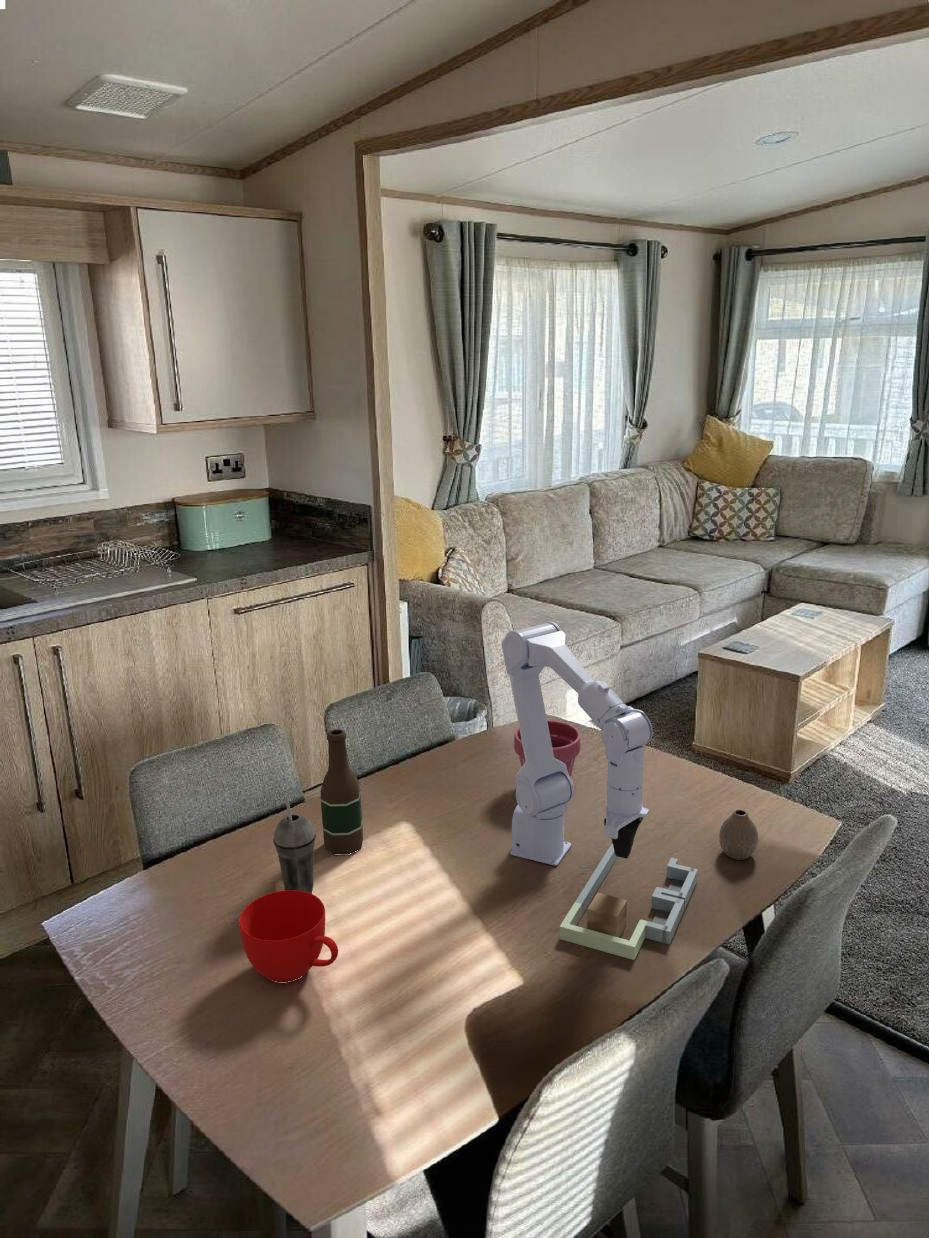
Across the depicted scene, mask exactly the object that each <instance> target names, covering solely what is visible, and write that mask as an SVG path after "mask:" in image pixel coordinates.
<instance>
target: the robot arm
mask: <svg viewBox="0 0 929 1238" xmlns="http://www.w3.org/2000/svg"><path fill="white" fill-rule="evenodd" d="M501 650H502V653H503V654H502V655H503V659H504V660H503V661H504V664H505V670H506V674H507V675H508V676H509V677H508V678H509V682H510V686H511V692H512V697H513V702H514V708H515V713H516V718H517V723H518V727H519V729H520V734H521V740H522V745H523V750H524V755H525V760H526V761H525V763H524V765H523V766H522V767H521V768H520V769H519V770H518V772H517V773H516V774H515V782H516V789H515V799H516V802H517V805H516V806H515V809H514V811H513V814H512V819H511V850H510V853H509V854H510V855H511V856H515V857H519V858H522V859H526V860H531V861H535V862H539V863H543V864H545V865H546V864H547V865H552V866H555V867H556V866H558V865H559V864H560V863H561V861H562V860H563V858H564V856H565V855H566V854H567V853H568V852H569V850H570V848H571V847H572V843H571V842H568V841H565V810H567V809H568V803H569V802H571V801H572V800H573V798H574V796H575V787H574V783H573V780H572V778H571V777H570V776H569V774H568V772H567V767H566V764H564V763H563V762H561V761H559V760H557V759H555V758H554V754H553V749H552V744H551V738H550V733H549V728H548V722H547V720H548V718H547V712H546V709H545V708H546V707H545V704H544V703H545V702H544V697H543V692H542V687H541V681H540V677H539V676H540V674H541V672H542V671H543V669H544V668H550V669H551V670H552V671H553V672H555V674H557V675H558V677H560V678H561V679H562V680H563V681H564V682H565V683H566V684H567V685H568V686H569V687H570V688H572V690H574V691H575V693H577V704H578V705H579V706H580V708H581V709H582V710H583V711H584V712H585V713H586V714H587V716H588V717H589V718H590V719H591V720H592V722H594V724H595V725H596V726H597V727H598V728H599V729H600V738H601V740H602V741H601V742H602V743H603V745H604V748H605V751H604V752H605V753H604V756H605V757H606V759H607V783H606V785H607V787H606V788H607V789H606V791H607V792H606V803H605V818H604V820H603V825H604V837H605V838H610V840H611V844H613V847H614V852H615V855H616V856H617V858H622V859H628V858H629V857H630V855H631V852H632V849H633V845H634V841H635V836H636V835H637V831H638V829H639V826H640V825H641V823H642V821H643V820H644V819H646V818H647V817H648V816H649V813H650V809H649V808H646V807H644V805H643V788H644V787H643V785H644V782H643V781H644V759H645V745H646V744H649V743H650V742H651V741H652V738H653V734H654V733H653V732H654V730H653V726H652V723H651V720H650V719H649V717H648V716H647V715H646V713H645V712H644V711H642V709H638V708H637V709H636V708H634V707H632V706H630V705H626V704H625V703H624V701H622V699H621V698H620V697H619V696H618V695H617V694H616V693H615V691H613V689H611V687H610V686H609V684H608V683H607V682H605V681H604V680H594V679H593V678H592V676H591V675H590V674H589V673H588V671H587V670H586V669H585V668H584V666H583V665H582V663H581V662H580V661H579V660H578V658H577V657H576V655H574V653H572V651H571V649H570V648H569V647H568V638H567V635H566V633H565V632H564V631H563V630H562V629H561V627H560V626H559V625H558V624H557V623H556V622H554V621H545V622H544V623H541V624H537V625H533V626H530V627H525V628H521V629H517V630H510V631H508V632H507V633H506V634H505V636H504V638H503V640H502V641H501Z"/></svg>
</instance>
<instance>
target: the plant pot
mask: <svg viewBox="0 0 929 1238" xmlns="http://www.w3.org/2000/svg"><path fill="white" fill-rule="evenodd" d="M547 722H548V728H549V733H550V738H551V744H552V749H553V754H554V758H555V759H557V760H559V761H561V762H563V763H564V764H566V767H567V772H568V774H569V776H570V778H571V777H572V772H573V768H574V764H575V762H576V761H575V760H576V757H577V756H579V755H580V752H581V744H582V743H581V741H582V740H581V733H580V731H579V729H577V728H576V726H574V725H572V724H569V723H567V722H562V721H558V720H550V719H549V720H548V719H547ZM513 737H514V741H513V742H514V743H513V749H514V752H515V753H516V754H517V756H518V757H519V763H520V767H521V768H522V766H523V765H524V763H525V761H526V760H525V755H524V750H523V745H522V740H521V734H520V729H519V726H518V727H517V728H516V730H515V732H514V736H513Z"/></svg>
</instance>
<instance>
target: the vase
mask: <svg viewBox="0 0 929 1238" xmlns="http://www.w3.org/2000/svg"><path fill="white" fill-rule="evenodd" d="M718 837H719V838H718V839H719V845H720V848H721V850H722V852H723V853H724V854H725V855H726V856H728V857H729V858H730V859H733V860H737V861H744V860H747V859H749V858H750V857H751V856H753V855H754V853H755V852H756V850H757V848H758V843H759V832H758V829H757V826H756V825H755V823H754V822H753V821H752V819H751V818H750V817H749V814H748V812H747V811H746V810H744V809H741V808H740V809H735V810H734V811H733V812H732V813H731V815H730V816H728V817H727V818H726V819H725V820H723V823H722V825H721V826H720V829H719V835H718Z"/></svg>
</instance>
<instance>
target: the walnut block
mask: <svg viewBox="0 0 929 1238" xmlns="http://www.w3.org/2000/svg"><path fill="white" fill-rule="evenodd" d="M627 909H628V900H627V899H623V898H619V897H617V896H613V895H608V894H605V893H602V892H597V893H596V894H595V895H594V897H593V898H592V900H591V901H590V903H589V905H588V906H587V908H586V912H587V913H586V929H589V930H593V931H596V932H600V933H604V934H607V935H611V936H615V937H618V938H621V936H622V934H623V932H624V931H625V928H626V927H627V914H628V913H627V911H628V910H627Z"/></svg>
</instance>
